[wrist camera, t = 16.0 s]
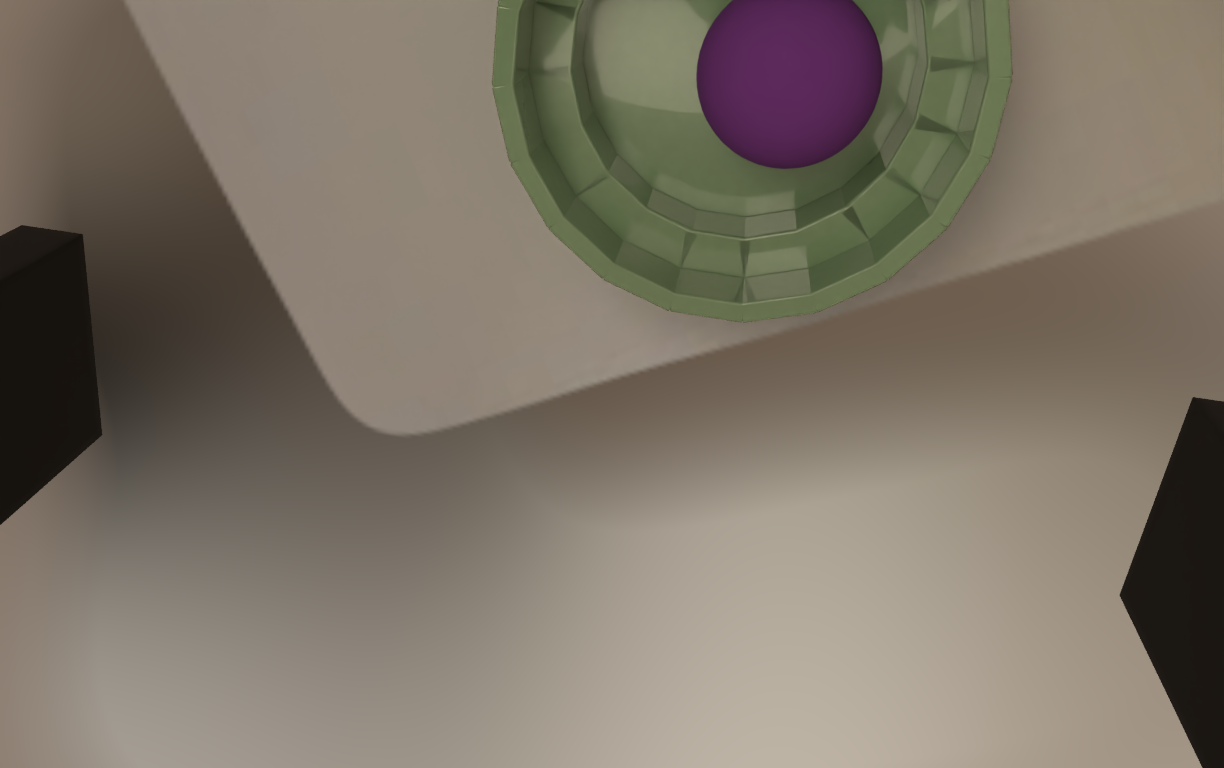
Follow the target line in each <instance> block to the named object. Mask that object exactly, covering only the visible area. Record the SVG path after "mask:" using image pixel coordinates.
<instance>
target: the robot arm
mask: <svg viewBox="0 0 1224 768" xmlns="http://www.w3.org/2000/svg"><path fill="white" fill-rule="evenodd" d="M101 435H102V429H101V418H100V408H99V398H98V387H97V377H96V367H95V356H94V346H93V337H92V326H91V315H90V305H89V295H88V284H87V274H86V264H85V254H84V243H83V235H82V234H77V233H70V232H64V231H57V230H50V229H44V228H37V227H30V226H23V225H22V226H19V227H18V228H15V229H14V230H12V231H9V232H7V233H6V234H4V235H2V236H0V525H1V524H2V523H3V522H4V521H5V520H6V519H7V518H9V517H10V516H11V515H12V514H13V513H14V512H15V511H17V510H18V509H19V508H20V507H21V506H22V505H23V504H25V503H26V502H27V501H28V500H29V499H30V498H31V497H32V496H34V495H35V494H36V493H37V492H38V491H39V490H40V489H42V488H43V487H44V486H45V485H46V484H47V483H48V482H49V481H51V480H52V479H53V478H54V477H55V476H56V475H57V474H58V473H60V472H61V471H62V470H63V469H64V468H65V467H66V466H67V465H69V464H70V463H71V462H72V461H73V460H74V459H75V458H77V457H78V456H79V455H80V454H81V453H82V452H83V451H84V450H86V449H87V447H89V446H90V445H91V444H92V443H94V442H95V441H96V440H97V439H98V438H99V437H100V436H101ZM1120 597H1121V599H1122V601H1123V603H1124V605H1125V608H1126V609H1127V612H1128V614H1129V616H1130V618H1131V620H1132V622H1133V624H1134V626H1135V628H1136V630H1137V632H1138V635H1139V637H1140V639H1141V641H1142V643H1143V645H1144V647H1145V649H1146V651H1147V653H1148V655H1149V657H1150V659H1151V662H1152V664H1153V666H1154V668H1155V670H1156V672H1157V674H1158V676H1159V678H1160V680H1161V682H1162V684H1163V687H1164V688H1165V691H1166V693H1167V695H1168V697H1169V699H1170V701H1171V703H1172V705H1173V707H1174V709H1175V711H1176V714H1177V716H1178V717H1179V720H1180V722H1181V724H1182V726H1183V728H1184V730H1185V732H1186V734H1187V737H1188V739H1189V741H1190V743H1191V745H1192V747H1193V749H1194V751H1195V753H1196V755H1197V757H1198V759H1199V761H1200V764H1201V766H1202V767H1203V768H1224V402H1222V401H1215V400H1208V399H1202V398H1195V397H1193V398H1192V401H1191V404H1190V406H1189V409H1188V412H1187V414H1186V417H1185V420H1184V423H1183V425H1182V428H1181V431H1180V433H1179V436H1178V439H1177V441H1176V444H1175V447H1174V450H1173V452H1172V455H1171V458H1170V461H1169V463H1168V466H1167V469H1166V471H1165V474H1164V477H1163V479H1162V482H1161V485H1160V488H1159V490H1158V493H1157V496H1156V498H1155V501H1154V504H1153V506H1152V509H1151V512H1150V514H1149V517H1148V520H1147V523H1146V525H1145V528H1144V531H1143V534H1142V536H1141V539H1140V542H1139V544H1138V547H1137V550H1136V552H1135V555H1134V558H1133V560H1132V563H1131V566H1130V569H1129V572H1128V574H1127V577H1126V580H1125V582H1124V585H1123V588H1122V590H1121V593H1120Z"/></svg>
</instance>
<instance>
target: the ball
mask: <svg viewBox="0 0 1224 768" xmlns="http://www.w3.org/2000/svg"><path fill="white" fill-rule="evenodd" d="M882 74H883V65H882V55H881V50H880V46H879V42H878V39H877V36H876V33H875V31H874V29H873V27H872V25H871V23H870V22H869V20H868V18H867V17H866V16H865V14H864V13H863V11H862V10H861V9H860V8H859V7H858V6H857V5H856V4H855V3H854V2H853V1H852V0H732V1H731V2H730V3H729V4H728V5H727V6H726V7H725V8H724V9H723V10H722V11H721V12H720V14H719V15H718V16H717V18H716V19H715V20H714V22H713V23H712V25H711V27H710V28H709V30H708V32H707V34H706V36H705V38H704V41H703V43H702V47H701V50H700V53H699V58H698V62H697V72H696V81H697V91H698V97H699V101H700V105H701V108H702V111H703V113H704V116H705V118H706V120H707V122H708V124H709V125H710V127H711V128H712V130H713V131H714V133H715V134H716V136H717V137H718V138H719V139H720V140H721V141H722V142H723V143H724V144H725V145H726V146H727V147H728V148H730V149H731V150H732V151H733V152H734V153H736V154H737V155H739V156H741V157H742V158H744V159H746V160H748V161H751V162H753V163H755V164H758V165H762V166H766V167H771V168H779V169H791V168H801V167H806V166H810V165H813V164H816V163H819V162H822V161H824V160H826V159H828V158H830V157H832V156H834V155H835V154H837V153H839V152H840V151H841V150H843V149H844V148H845V147H846V146H848V145H849V144H850V143H851V142H852V141H853V140H854V139H855V138H856V137H857V136H858V134H859V133H860V132H861V131H862V129H863V128H864V127H865V125H866V124H867V122H868V121H869V119H870V117H871V115H872V113H873V111H874V109H875V106H876V104H877V101H878V97H879V94H880V90H881V84H882Z"/></svg>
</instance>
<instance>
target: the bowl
mask: <svg viewBox="0 0 1224 768" xmlns="http://www.w3.org/2000/svg"><path fill="white" fill-rule="evenodd" d="M731 1H732V0H499V2H498V7H497V20H496V34H495V48H494V63H493V77H492V85H493V88H492V89H493V94H494V98H495V102H496V106H497V111H498V115H499V119H500V124H501V128H502V132H503V136H504V141H505V145H506V149H507V153H508V158H509V161H510V162H511V166H512V168H513V169H514V171H515V173H516V174H517V176H518V178H519V180H520V181H521V183H522V185H523V186H524V188H525V190H526V192H527V193H528V195H529V197H530V198H531V200H532V202H533V204H534V205H535V207H536V209H537V210H538V212H539V214H540V216H541V217H542V219H543V221H544V222H545V224H546V226H547V227H548V228H549V230H550V231H551V232H552V233H553V234H554V235H555V236H556V237H558V238H559V239H560V240H561V241H562V242H563V243H564V244H565V245H566V246H567V247H568V248H569V249H571V250H572V251H573V252H574V253H575V254H576V255H577V256H578V257H579V258H580V259H581V260H582V261H584V262H585V263H586V264H587V265H588V266H589V267H590V268H591V269H592V270H593V271H594V272H595V273H597V274H598V275H599V276H600V277H601V278H604V280H605V281H607V282H609V283H611V284H613V285H616V286H618V287H620V288H622V289H624V290H626V291H628V292H630V293H632V294H634V295H636V296H638V297H640V298H643V299H645V300H647V301H649V302H651V303H653V304H655V305H657V306H659V307H661V308H663V309H665V310H667V311H669V310H670V311H672V312H678V313H684V314H691V315H697V316H704V317H710V318H716V319H723V320H729V321H736V322H742V321H743V322H744V323H745V322H752V321H759V320H767V319H774V318H781V317H788V316H796V315H803V314H810V313H816V311H817V312H820V311H822V310H824V309H826V308H828V307H831V306H833V305H835V304H837V303H839V302H842V301H844V300H846V299H848V298H851V297H853V296H855V295H857V294H859V293H862V292H864V291H866V290H868V289H870V288H873V287H875V286H877V285H879V284H881V283H884V282H886V281H887V280H888V279H890V278H891V277H892V276H893V275H894V274H896V273H897V272H898V271H899V270H900V269H901V268H902V267H904V266H905V265H906V264H907V263H908V262H909V261H911V260H912V259H913V258H914V257H915V256H916V255H917V254H919V253H920V252H921V251H922V250H923V249H924V248H925V247H927V246H928V245H929V244H930V243H931V242H932V241H934V240H935V239H936V238H937V237H938V236H939V235H940V234H942V233H943V232H944V231H945V230H946V227H948V226H949V225H950V223H951V222H952V220H953V219H954V217H955V215H956V214H957V212H958V211H959V209H960V207H961V206H962V204H963V203H964V201H965V200H966V198H967V196H968V195H969V193H970V192H971V190H972V188H973V187H974V185H975V184H976V182H977V180H978V179H979V177H980V176H981V174H982V172H983V171H984V169H985V168H986V166H987V165H988V163H989V161H990V158H991V156H992V154H993V150H994V146H995V142H996V139H997V135H998V131H999V127H1000V123H1001V120H1002V116H1003V112H1004V108H1005V105H1006V101H1007V97H1008V93H1009V90H1010V86H1011V82H1012V78H1011V76H1012V74H1013V71H1012V53H1011V35H1010V18H1009V0H852V1H853V2H854V3H855V4H856V5H857V6H858V7H859V8H860V9H861V10H862V11H863V13H864V14H865V16H866V17H867V18H868V20H869V22H870V23H871V25H872V27H873V29H874V31H875V33H876V36H877V39H878V42H879V46H880V50H881V55H882V65H883V74H882V84H881V90H880V94H879V97H878V101H877V104H876V106H875V109H874V111H873V113H872V115H871V117H870V119H869V121H868V122H867V124H866V125H865V127H864V128H863V129H862V131H861V132H860V133H859V134H858V136H857V137H856V138H855V139H854V140H853V141H852V142H851V143H850V144H849V145H848V146H846V147H845V148H844V149H843V150H841V151H840V152H839V153H837V154H835V155H834V156H832V157H830V158H828V159H826V160H824V161H822V162H819V163H816V164H813V165H810V166H806V167H801V168H791V169H779V168H771V167H766V166H762V165H758V164H755V163H753V162H751V161H748V160H746V159H744V158H742V157H741V156H739V155H737V154H736V153H734V152H733V151H732V150H731V149H730V148H728V147H727V146H726V145H725V144H724V143H723V142H722V141H721V140H720V139H719V138H718V137H717V136H716V134H715V133H714V131H713V130H712V128H711V127H710V125H709V124H708V122H707V120H706V118H705V116H704V113H703V111H702V108H701V105H700V101H699V97H698V91H697V81H696V72H697V62H698V58H699V53H700V50H701V47H702V43H703V41H704V38H705V36H706V34H707V32H708V30H709V28H710V27H711V25H712V23H713V22H714V20H715V19H716V18H717V16H718V15H719V14H720V12H721V11H722V10H723V9H724V8H725V7H726V6H727V5H728V4H729V3H730V2H731Z"/></svg>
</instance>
